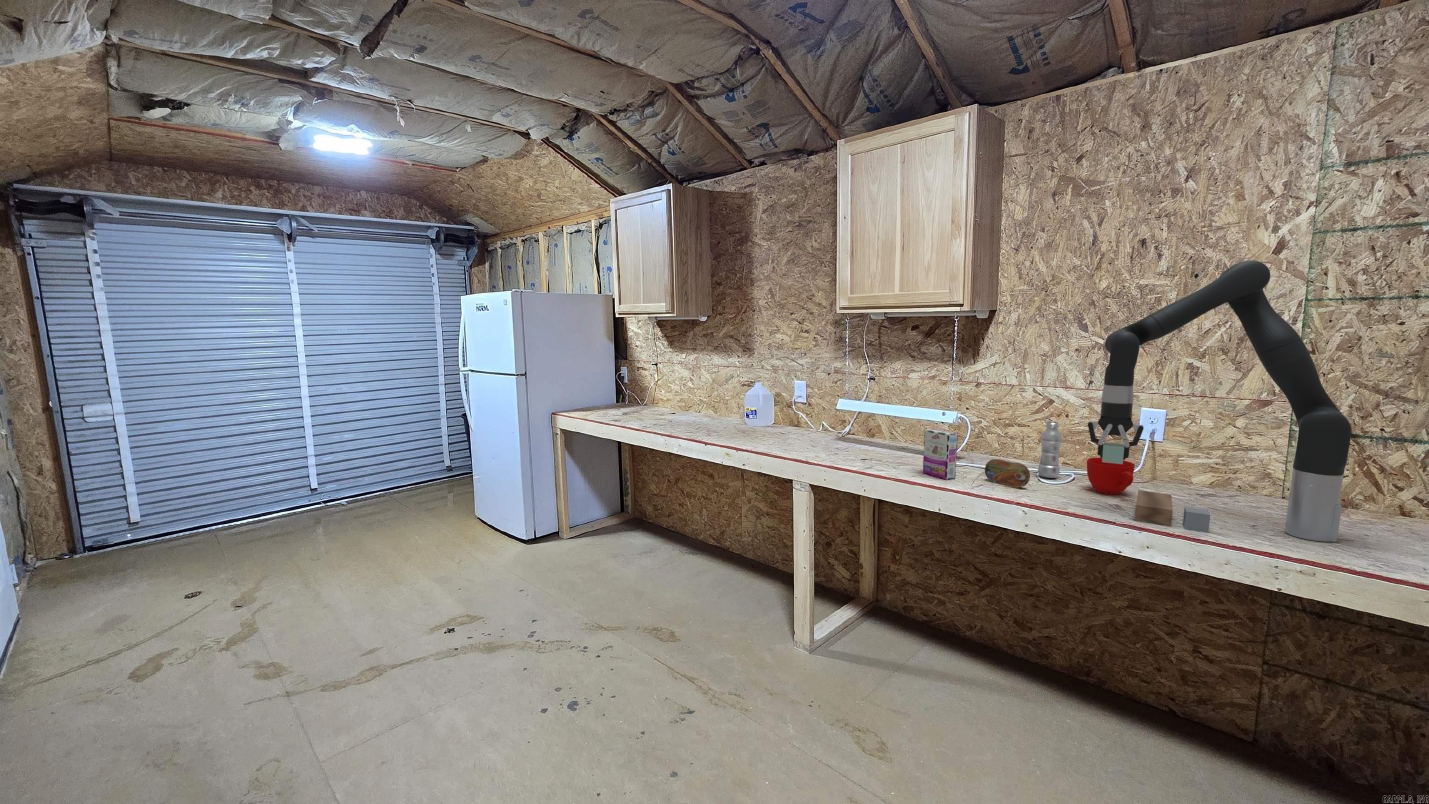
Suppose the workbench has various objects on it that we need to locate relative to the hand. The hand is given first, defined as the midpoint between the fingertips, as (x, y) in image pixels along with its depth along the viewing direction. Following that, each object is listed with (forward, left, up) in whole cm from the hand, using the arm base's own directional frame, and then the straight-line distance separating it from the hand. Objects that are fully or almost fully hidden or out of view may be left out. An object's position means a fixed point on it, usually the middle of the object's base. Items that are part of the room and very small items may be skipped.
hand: (1112, 457), depth 175 cm
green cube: (0, 0, -1) cm, 1 cm away
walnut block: (-11, -1, -16) cm, 19 cm away
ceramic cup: (-1, -20, -16) cm, 26 cm away
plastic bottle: (+18, -31, -16) cm, 39 cm away
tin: (+29, -13, -16) cm, 36 cm away
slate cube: (-20, +6, -16) cm, 26 cm away
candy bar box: (+51, -12, -16) cm, 55 cm away
